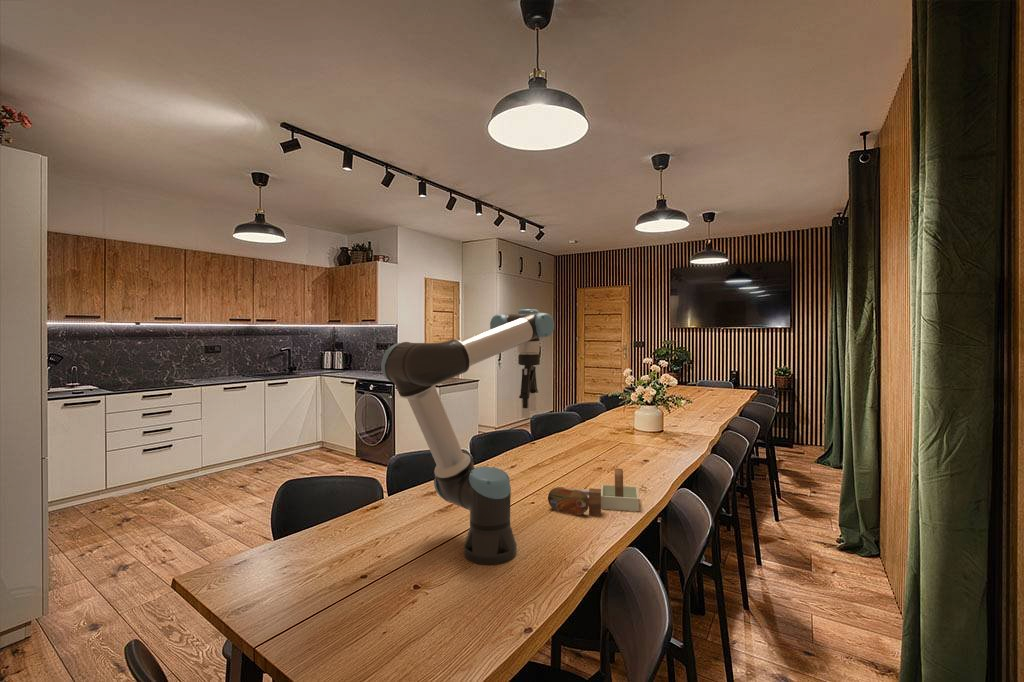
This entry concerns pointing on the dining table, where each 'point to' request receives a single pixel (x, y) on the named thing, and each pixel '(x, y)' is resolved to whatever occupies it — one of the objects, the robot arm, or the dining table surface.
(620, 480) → the dowel
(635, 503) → the tray
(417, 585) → the dining table surface
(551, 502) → the tin
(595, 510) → the wooden block
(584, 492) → the socket block
